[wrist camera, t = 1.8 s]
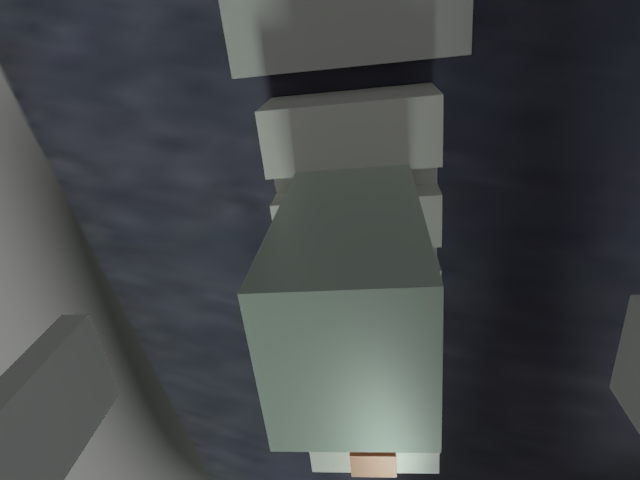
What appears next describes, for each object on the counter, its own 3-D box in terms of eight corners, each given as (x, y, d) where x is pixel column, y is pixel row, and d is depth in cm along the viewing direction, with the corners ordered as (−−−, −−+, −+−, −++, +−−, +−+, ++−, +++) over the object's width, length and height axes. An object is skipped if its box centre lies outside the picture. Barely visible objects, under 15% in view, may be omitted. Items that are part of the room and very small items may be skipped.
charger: (409, 260, 21) (441, 452, 12) (313, 264, 22) (270, 451, 12) (406, 154, 19) (443, 286, 10) (300, 162, 20) (237, 294, 10)
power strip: (431, 423, 28) (441, 487, 24) (318, 423, 29) (310, 484, 25) (431, 82, 20) (446, 98, 16) (272, 97, 21) (249, 115, 17)
